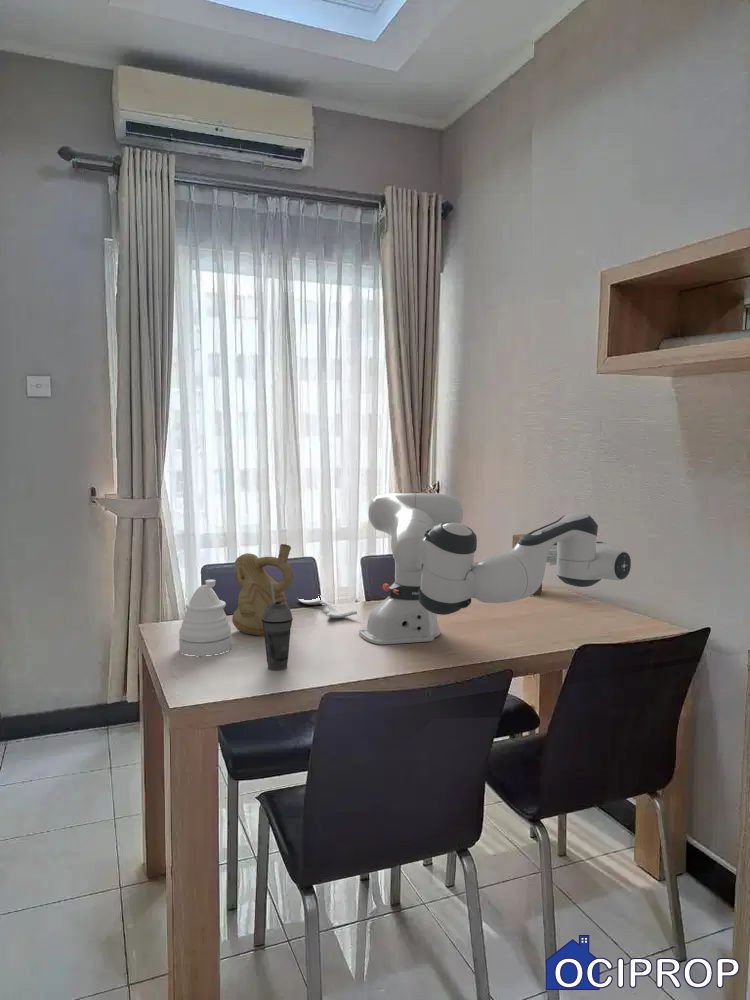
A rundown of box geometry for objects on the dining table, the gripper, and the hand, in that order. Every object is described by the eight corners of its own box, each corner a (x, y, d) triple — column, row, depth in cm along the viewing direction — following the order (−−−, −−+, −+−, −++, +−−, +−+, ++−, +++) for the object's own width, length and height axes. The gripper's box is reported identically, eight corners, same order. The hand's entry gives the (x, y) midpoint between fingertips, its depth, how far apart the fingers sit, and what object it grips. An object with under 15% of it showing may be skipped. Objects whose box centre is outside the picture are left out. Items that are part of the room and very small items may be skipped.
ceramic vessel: (254, 619, 205) (253, 536, 203) (309, 627, 196) (308, 541, 194) (215, 633, 190) (214, 543, 188) (273, 643, 181) (272, 549, 179)
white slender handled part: (330, 625, 200) (330, 613, 200) (293, 601, 228) (293, 591, 228) (358, 621, 204) (358, 610, 203) (319, 599, 232) (318, 589, 232)
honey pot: (241, 645, 179) (240, 577, 177) (210, 659, 167) (208, 587, 166) (201, 639, 184) (200, 573, 183) (168, 653, 172) (166, 582, 171)
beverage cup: (292, 672, 158) (291, 586, 157) (260, 672, 158) (259, 587, 156) (293, 661, 166) (293, 580, 164) (263, 662, 165) (262, 580, 163)
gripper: (550, 570, 183) (519, 561, 196) (610, 564, 191) (577, 556, 204) (551, 546, 183) (520, 539, 195) (610, 542, 191) (577, 535, 203)
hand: (549, 548), depth 200 cm, fingers closed on walnut block, 5 cm apart
